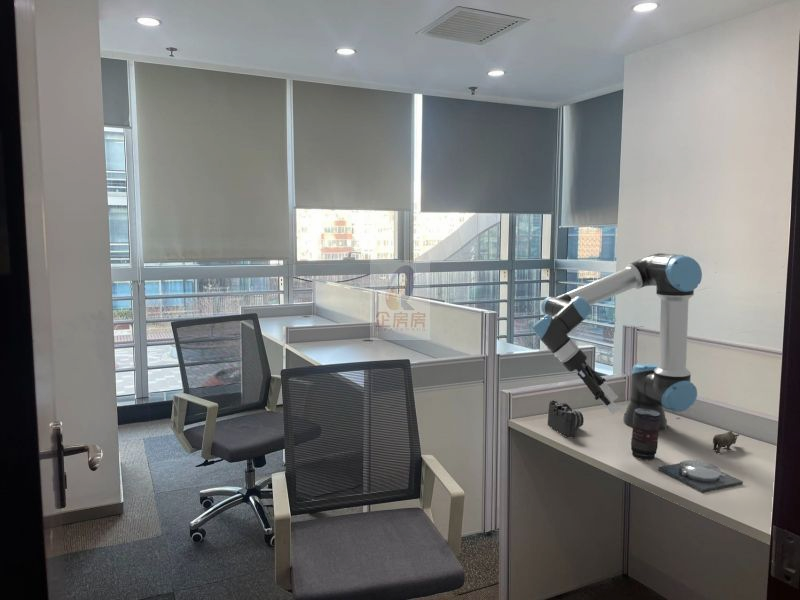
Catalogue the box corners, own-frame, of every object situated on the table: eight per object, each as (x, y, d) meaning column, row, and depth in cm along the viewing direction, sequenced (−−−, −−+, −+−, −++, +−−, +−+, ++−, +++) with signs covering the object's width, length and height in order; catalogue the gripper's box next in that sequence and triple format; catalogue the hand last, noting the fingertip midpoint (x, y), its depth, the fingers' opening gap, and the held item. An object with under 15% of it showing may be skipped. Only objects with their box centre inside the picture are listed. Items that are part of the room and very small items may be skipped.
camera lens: (659, 462, 185) (663, 416, 183) (632, 459, 187) (636, 414, 185) (653, 452, 193) (657, 408, 191) (628, 450, 195) (631, 406, 193)
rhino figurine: (743, 447, 200) (744, 430, 199) (720, 455, 193) (722, 437, 192) (730, 443, 203) (732, 426, 202) (708, 450, 196) (710, 433, 195)
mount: (696, 463, 185) (697, 454, 185) (742, 484, 170) (743, 474, 170) (657, 470, 179) (658, 460, 179) (702, 492, 164) (703, 482, 164)
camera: (592, 436, 207) (594, 409, 206) (565, 438, 204) (566, 411, 203) (569, 422, 221) (571, 397, 219) (544, 424, 218) (545, 399, 216)
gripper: (563, 355, 206) (605, 401, 203) (559, 371, 182) (606, 424, 180) (580, 341, 204) (623, 388, 201) (578, 356, 180) (626, 409, 177)
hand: (615, 405), depth 190 cm, fingers open, 13 cm apart
